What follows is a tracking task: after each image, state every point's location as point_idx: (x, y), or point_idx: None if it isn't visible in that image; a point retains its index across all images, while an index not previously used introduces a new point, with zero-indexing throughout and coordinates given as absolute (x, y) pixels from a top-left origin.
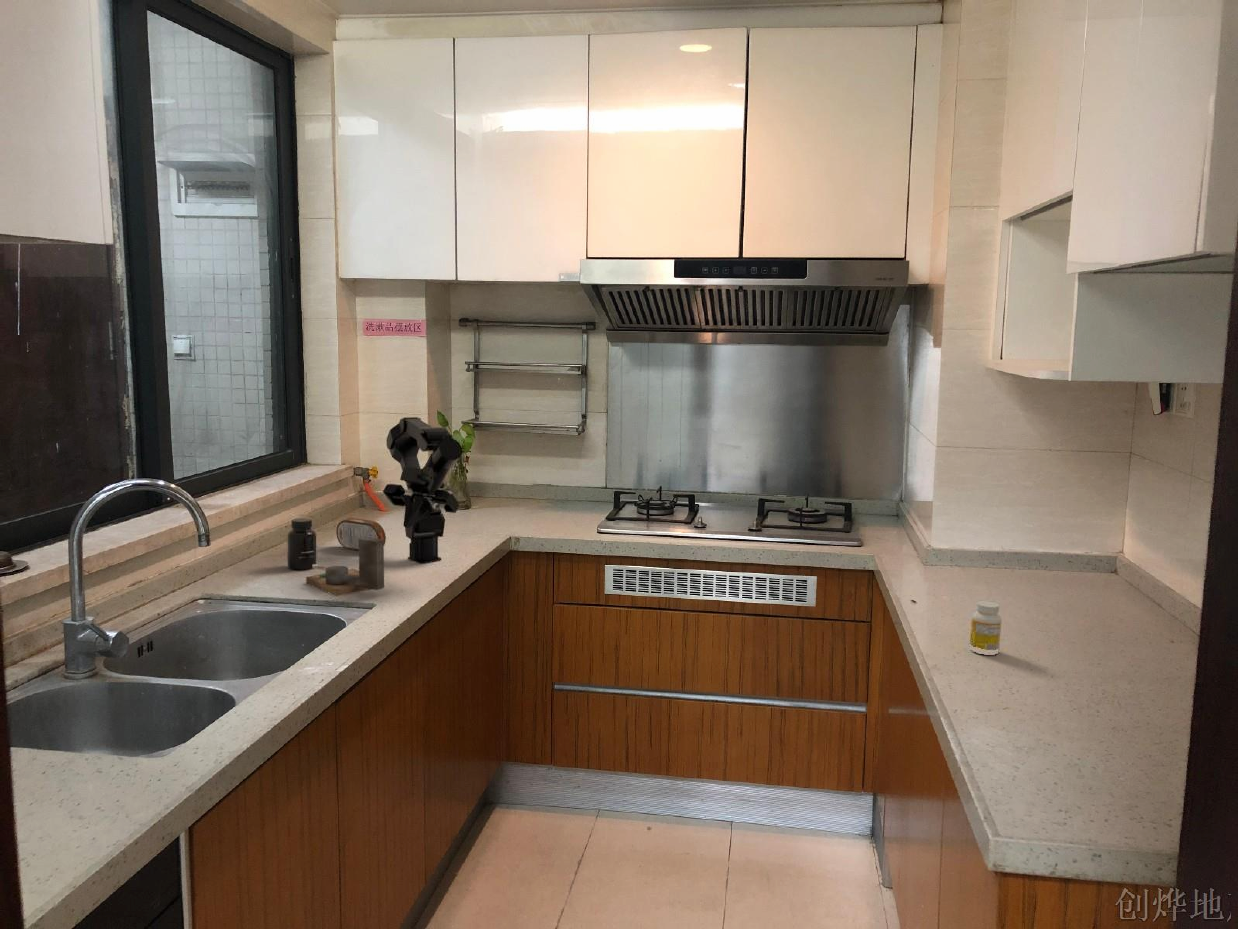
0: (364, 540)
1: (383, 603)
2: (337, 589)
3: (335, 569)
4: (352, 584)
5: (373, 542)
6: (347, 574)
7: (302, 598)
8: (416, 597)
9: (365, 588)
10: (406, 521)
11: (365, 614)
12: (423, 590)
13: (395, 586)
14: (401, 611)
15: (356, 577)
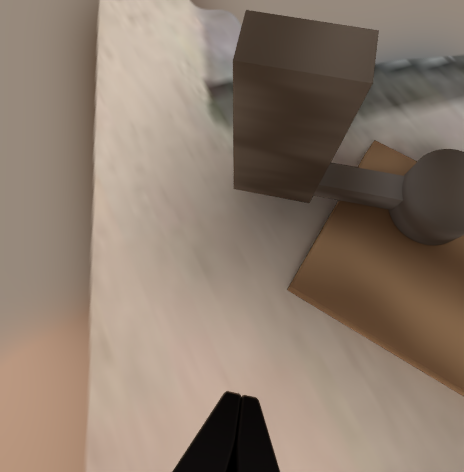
0: (334, 27)
1: (199, 132)
2: (372, 145)
3: (450, 175)
4: (361, 204)
5: (266, 18)
6: (393, 186)
7: (440, 109)
8: (128, 211)
9: (321, 230)
10: (234, 428)
11: (200, 45)
12: (135, 291)
13: (249, 307)
14: (121, 87)
15: (339, 164)
